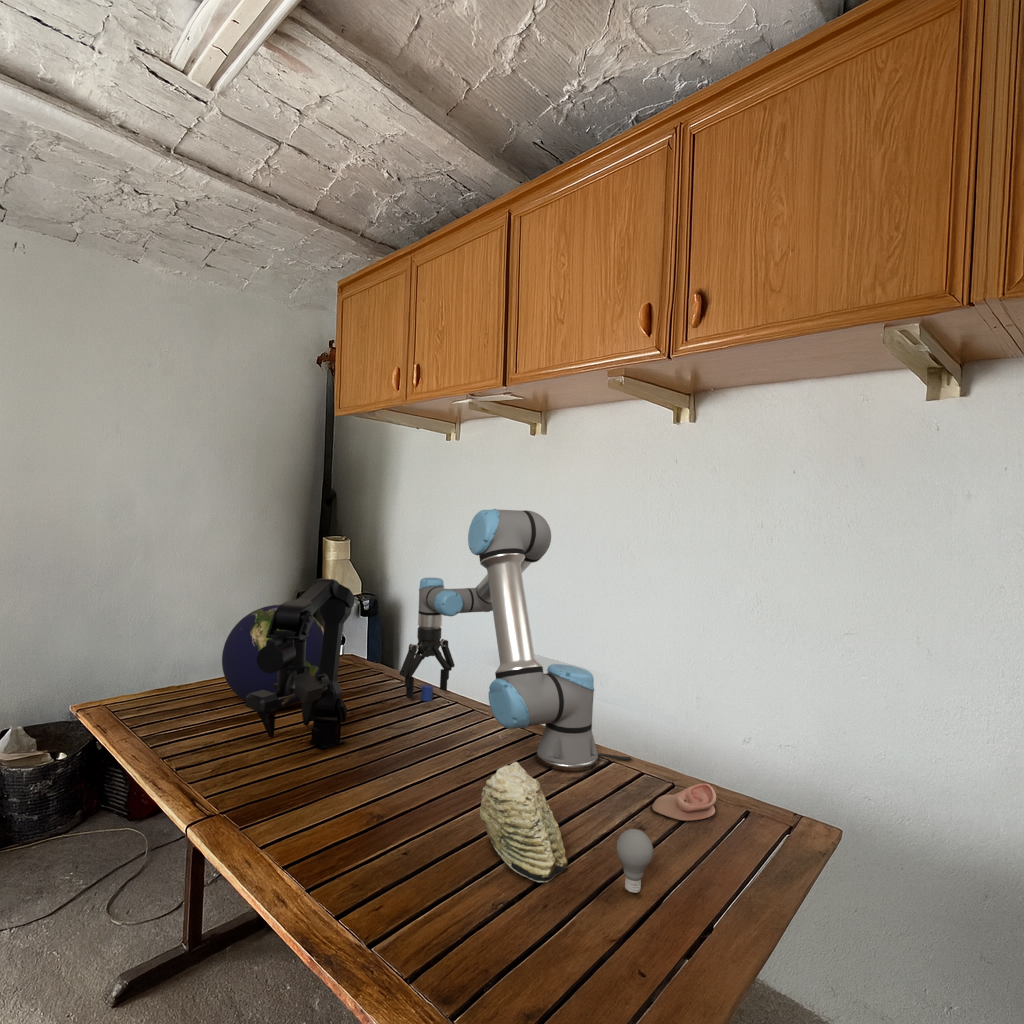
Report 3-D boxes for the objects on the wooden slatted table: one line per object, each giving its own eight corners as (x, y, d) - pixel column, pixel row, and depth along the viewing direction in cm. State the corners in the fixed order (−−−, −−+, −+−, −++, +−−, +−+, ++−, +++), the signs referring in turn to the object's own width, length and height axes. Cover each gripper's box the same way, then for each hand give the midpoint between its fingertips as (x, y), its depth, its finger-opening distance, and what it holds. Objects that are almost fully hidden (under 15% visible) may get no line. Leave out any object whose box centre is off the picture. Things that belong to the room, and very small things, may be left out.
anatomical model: (653, 797, 131) (652, 774, 142) (652, 816, 131) (651, 792, 142) (720, 806, 128) (714, 782, 140) (719, 826, 128) (713, 800, 140)
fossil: (501, 827, 124) (504, 751, 124) (575, 868, 111) (578, 784, 111) (467, 843, 118) (470, 763, 118) (541, 889, 105) (545, 799, 105)
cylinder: (423, 701, 198) (424, 688, 198) (419, 698, 201) (419, 685, 201) (434, 700, 200) (434, 686, 200) (429, 697, 203) (430, 683, 203)
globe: (289, 685, 209) (292, 594, 208) (348, 705, 191) (352, 606, 191) (199, 706, 185) (203, 604, 184) (258, 732, 167) (262, 619, 167)
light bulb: (610, 879, 108) (613, 822, 108) (644, 879, 109) (647, 822, 109) (619, 902, 102) (622, 840, 102) (655, 901, 103) (658, 840, 103)
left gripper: (279, 677, 128) (276, 753, 128) (349, 659, 143) (346, 727, 144) (245, 667, 134) (242, 740, 134) (316, 651, 149) (313, 717, 150)
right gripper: (452, 620, 212) (449, 684, 212) (390, 628, 195) (387, 697, 195) (467, 624, 206) (464, 689, 207) (404, 633, 189) (400, 704, 190)
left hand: (289, 731), depth 140 cm, fingers open, 9 cm apart
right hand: (426, 693), depth 201 cm, fingers open, 12 cm apart
